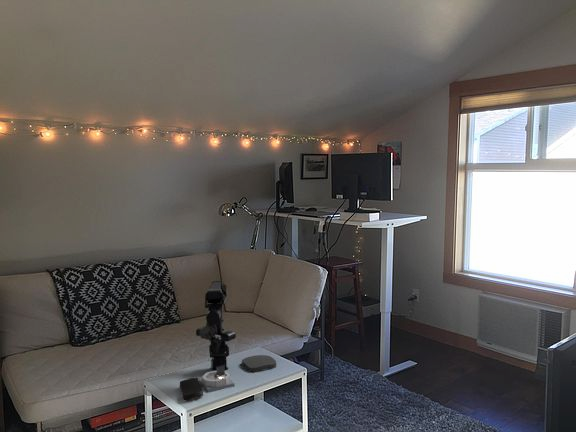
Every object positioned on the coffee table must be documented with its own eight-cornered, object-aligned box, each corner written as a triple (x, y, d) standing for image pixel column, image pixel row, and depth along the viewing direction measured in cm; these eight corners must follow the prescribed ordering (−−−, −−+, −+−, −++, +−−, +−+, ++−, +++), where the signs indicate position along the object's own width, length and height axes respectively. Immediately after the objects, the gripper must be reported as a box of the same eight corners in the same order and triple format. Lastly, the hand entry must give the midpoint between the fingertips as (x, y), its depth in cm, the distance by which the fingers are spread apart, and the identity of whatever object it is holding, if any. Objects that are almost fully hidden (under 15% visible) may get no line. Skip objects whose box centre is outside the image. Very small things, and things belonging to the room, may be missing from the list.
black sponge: (204, 399, 207) (204, 390, 206) (183, 403, 204) (183, 394, 204) (198, 384, 222) (197, 376, 222) (178, 387, 219) (178, 379, 219)
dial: (219, 375, 227) (219, 362, 226) (228, 380, 221) (228, 367, 220) (203, 380, 222) (203, 367, 222) (212, 385, 216) (212, 372, 215)
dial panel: (224, 376, 230) (223, 367, 229) (234, 386, 219) (234, 376, 218) (198, 381, 224) (198, 372, 224) (208, 392, 213) (207, 382, 213)
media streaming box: (239, 363, 246) (239, 357, 246) (267, 358, 252) (267, 352, 252) (250, 373, 233) (250, 367, 233) (279, 368, 239) (278, 362, 239)
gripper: (186, 319, 221) (188, 354, 222) (219, 325, 211) (220, 362, 212) (203, 313, 230) (204, 347, 231) (236, 319, 220) (237, 353, 221)
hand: (216, 352), depth 224 cm, fingers closed
